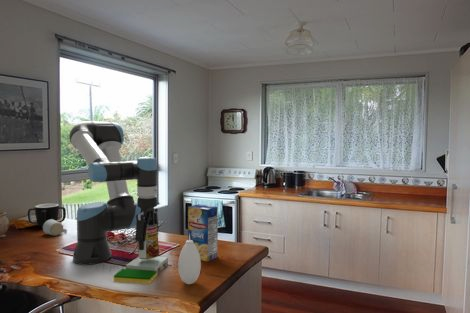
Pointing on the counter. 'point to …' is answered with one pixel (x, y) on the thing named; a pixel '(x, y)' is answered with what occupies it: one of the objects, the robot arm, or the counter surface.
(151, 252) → the canned food
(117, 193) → the robot arm
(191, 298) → the counter surface
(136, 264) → the block
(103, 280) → the counter surface
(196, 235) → the beverage box
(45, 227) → the ceramic mug
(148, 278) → the dish sponge
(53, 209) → the mug
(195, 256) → the sauce bottle
